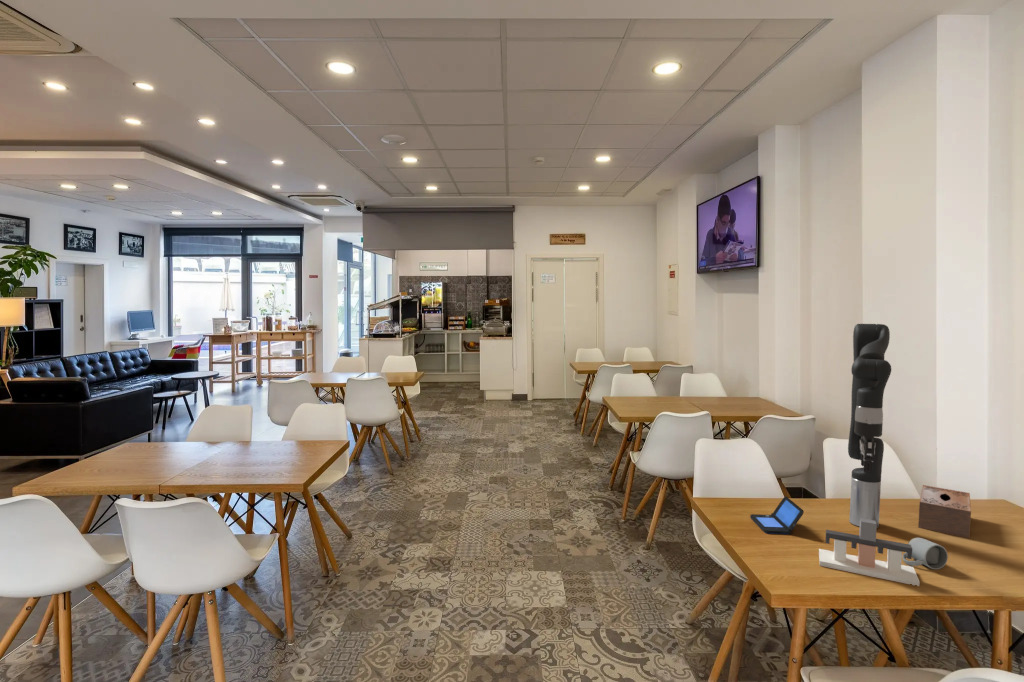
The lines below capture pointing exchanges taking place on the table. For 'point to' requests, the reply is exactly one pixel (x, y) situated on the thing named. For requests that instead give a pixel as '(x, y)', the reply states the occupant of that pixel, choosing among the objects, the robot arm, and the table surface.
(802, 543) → the table surface
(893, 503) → the table surface
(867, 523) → the gray bar
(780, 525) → the handheld game console
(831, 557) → the display stand
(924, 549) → the ceramic mug
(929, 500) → the tissue box cover
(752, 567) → the table surface
